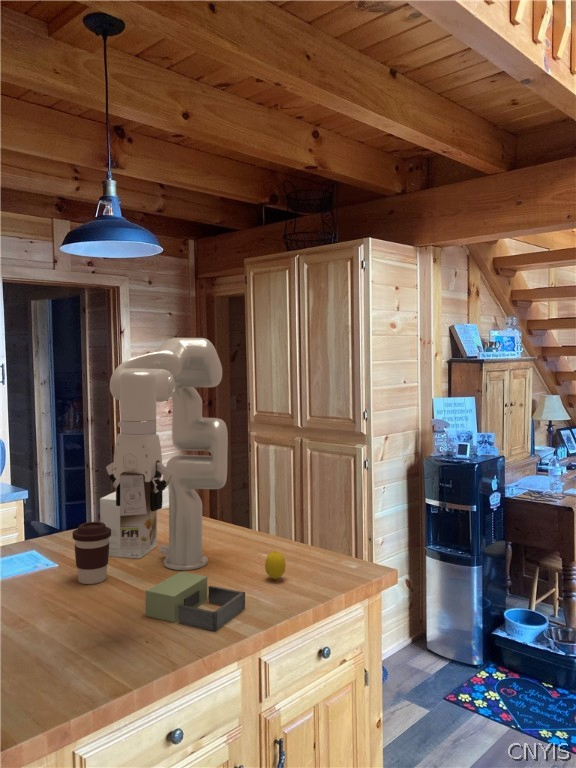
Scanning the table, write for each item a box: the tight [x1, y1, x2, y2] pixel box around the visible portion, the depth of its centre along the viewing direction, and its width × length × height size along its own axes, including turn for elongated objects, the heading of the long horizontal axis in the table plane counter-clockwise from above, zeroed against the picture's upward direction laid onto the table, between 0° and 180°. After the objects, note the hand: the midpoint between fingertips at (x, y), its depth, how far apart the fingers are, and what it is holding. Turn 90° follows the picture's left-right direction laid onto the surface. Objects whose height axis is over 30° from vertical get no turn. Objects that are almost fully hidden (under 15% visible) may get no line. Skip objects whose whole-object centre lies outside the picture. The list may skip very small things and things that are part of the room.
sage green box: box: [145, 571, 208, 623], centre depth 150 cm, size 8×14×6 cm, turn 155°
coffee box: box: [120, 472, 156, 549], centre depth 135 cm, size 9×6×16 cm
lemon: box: [264, 550, 286, 581], centre depth 169 cm, size 6×6×8 cm
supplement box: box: [99, 491, 158, 560], centre depth 192 cm, size 13×13×18 cm
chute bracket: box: [177, 585, 246, 632], centre depth 146 cm, size 10×14×4 cm
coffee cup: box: [72, 521, 111, 585], centre depth 167 cm, size 10×10×15 cm
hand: (138, 507), depth 135 cm, fingers closed on coffee box, 8 cm apart
